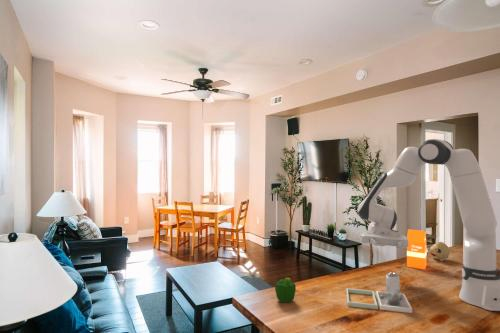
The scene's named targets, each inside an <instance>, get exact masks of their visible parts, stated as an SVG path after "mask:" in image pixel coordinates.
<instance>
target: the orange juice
mask: <svg viewBox="0 0 500 333" xmlns="http://www.w3.org/2000/svg"><path fill="white" fill-rule="evenodd" d="M406 237H407V238H408V240H409V245H408V247H406V267H407V268H408V267H409V268H415V269H420V270H426V267H427V252H428V251H427V236H426V231H425V230H419V229H418V230H417V229H409V228H408V229H407V235H406Z"/></svg>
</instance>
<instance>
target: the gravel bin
mask: <svg viewBox="0 0 500 333" xmlns="http://www.w3.org/2000/svg"><path fill="white" fill-rule="evenodd" d="M375 297H376V301H377V304H378V305H379V306H378V307H379V309H380V310H382V311H388V312H389V311H391V312H398V313H399V312H400V313H410V314H413V308H412V306H411V303H410V302H409V299H408V298H407V296H406V295H405V293H401V292H400V305H399V306H392V305H389V304H387V303H386V291H378V290H376V291H375Z"/></svg>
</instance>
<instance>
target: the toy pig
mask: <svg viewBox="0 0 500 333" xmlns="http://www.w3.org/2000/svg"><path fill="white" fill-rule="evenodd" d="M426 250H427V252H428V253H429V254H430V256H431V257H432V259H433V260H434V259H435V260H439V261H441V262H443V261H444V260H446V259H448V258H449V256H450V252H451V250H450V248H449V246H448V245H447V244H446V243H445V242H443V241H438V242H436V243H434V244H433V245H431V246H427V247H426Z"/></svg>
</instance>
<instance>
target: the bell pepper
mask: <svg viewBox="0 0 500 333" xmlns="http://www.w3.org/2000/svg"><path fill="white" fill-rule="evenodd" d="M296 288H297V287H296V283H295V282H293V281H292V279H291V278H290V277H285V278H284V279H280V280H278V281H276V282H275V283H274V289H275V290H274V291H275V295H276V298H277V300H278V301H279V303H292V302H293V301H294V299H295V295H296V291H297V289H296Z"/></svg>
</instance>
